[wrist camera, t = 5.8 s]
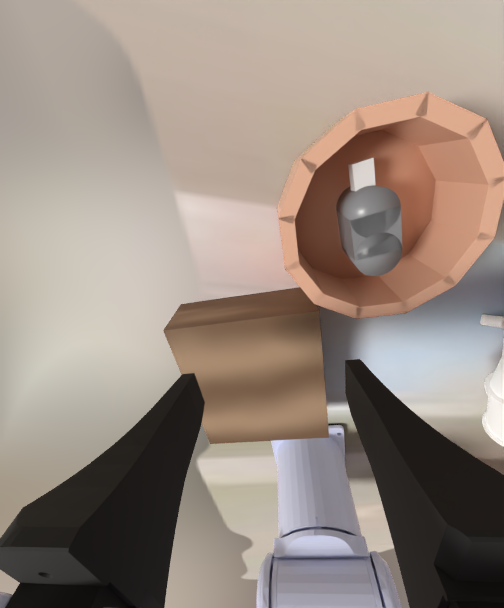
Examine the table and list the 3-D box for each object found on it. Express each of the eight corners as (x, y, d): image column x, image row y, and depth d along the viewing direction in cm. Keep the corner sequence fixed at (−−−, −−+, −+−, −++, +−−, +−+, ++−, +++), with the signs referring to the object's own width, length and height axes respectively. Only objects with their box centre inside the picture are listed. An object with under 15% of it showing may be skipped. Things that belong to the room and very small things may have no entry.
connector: (381, 253, 18) (403, 270, 15) (343, 262, 19) (357, 280, 16) (374, 154, 15) (398, 151, 12) (330, 168, 16) (343, 169, 13)
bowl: (431, 273, 19) (478, 304, 15) (288, 292, 21) (292, 326, 16) (455, 97, 14) (536, 66, 10) (267, 140, 16) (266, 130, 12)
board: (321, 401, 26) (329, 437, 23) (218, 408, 28) (210, 443, 24) (311, 286, 20) (319, 311, 17) (180, 304, 22) (163, 330, 18)
